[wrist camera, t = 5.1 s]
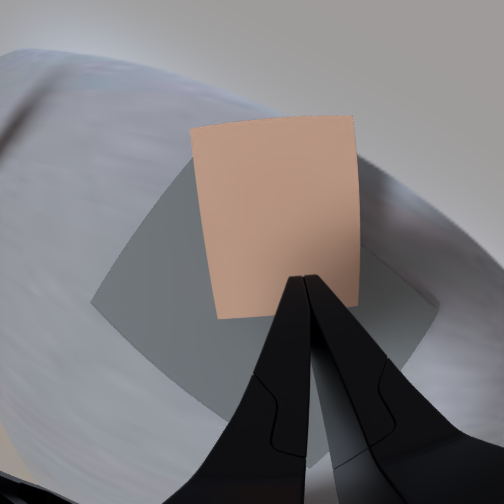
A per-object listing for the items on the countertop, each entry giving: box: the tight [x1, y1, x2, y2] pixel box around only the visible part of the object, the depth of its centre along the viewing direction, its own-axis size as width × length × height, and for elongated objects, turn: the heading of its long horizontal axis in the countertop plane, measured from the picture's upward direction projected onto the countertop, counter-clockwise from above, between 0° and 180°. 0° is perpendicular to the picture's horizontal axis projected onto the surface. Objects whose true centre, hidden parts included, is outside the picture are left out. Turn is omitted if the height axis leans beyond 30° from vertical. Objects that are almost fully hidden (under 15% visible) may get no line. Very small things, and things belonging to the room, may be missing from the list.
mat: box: [90, 158, 439, 468], centre depth 15 cm, size 18×13×1 cm
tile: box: [190, 116, 360, 319], centre depth 13 cm, size 2×7×9 cm
